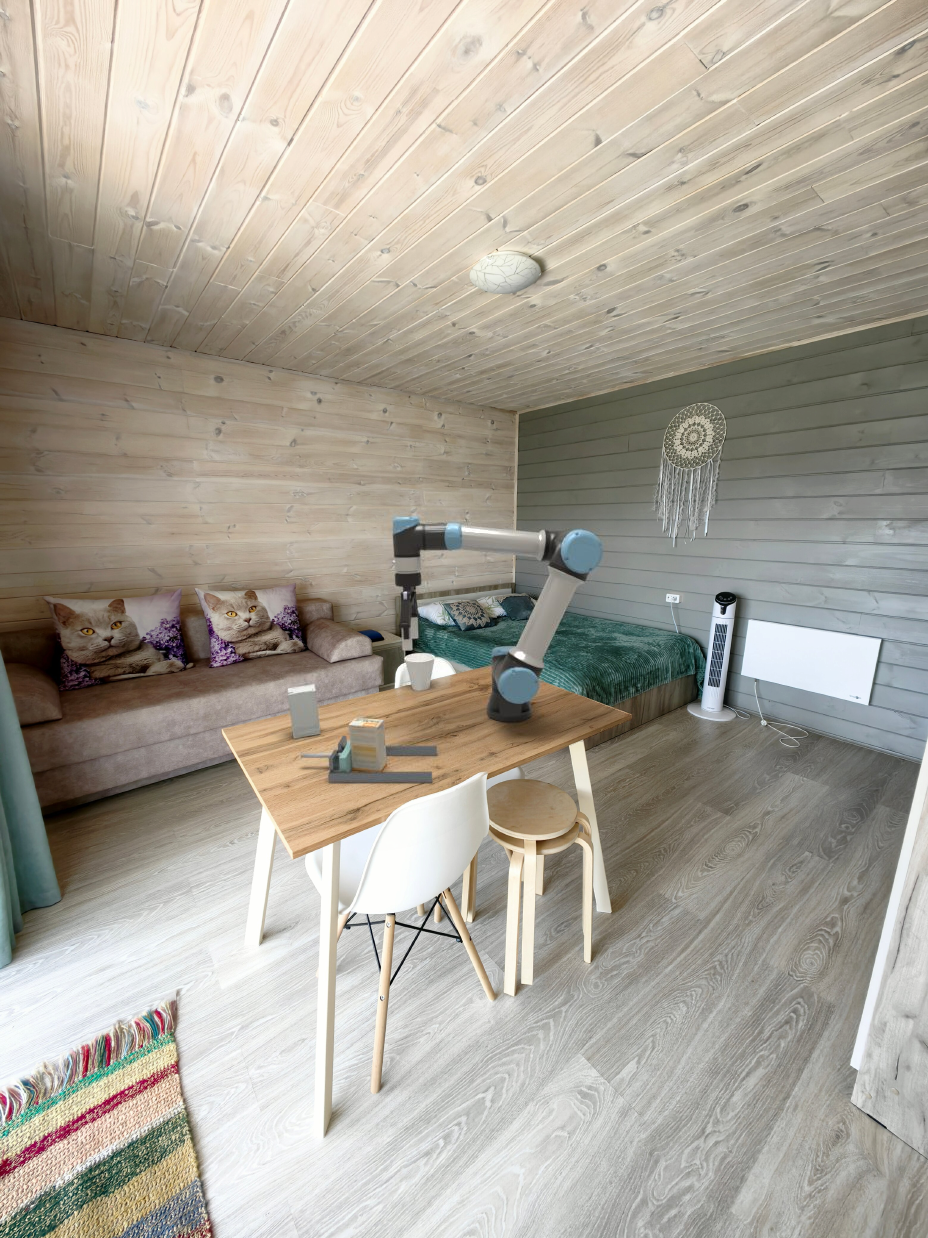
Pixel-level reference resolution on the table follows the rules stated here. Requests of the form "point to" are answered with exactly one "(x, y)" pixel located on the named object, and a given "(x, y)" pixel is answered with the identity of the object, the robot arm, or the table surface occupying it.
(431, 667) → the cup
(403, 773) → the lane
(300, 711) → the skincare box
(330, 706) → the table surface
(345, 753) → the pusher
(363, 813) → the table surface
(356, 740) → the supplement box
